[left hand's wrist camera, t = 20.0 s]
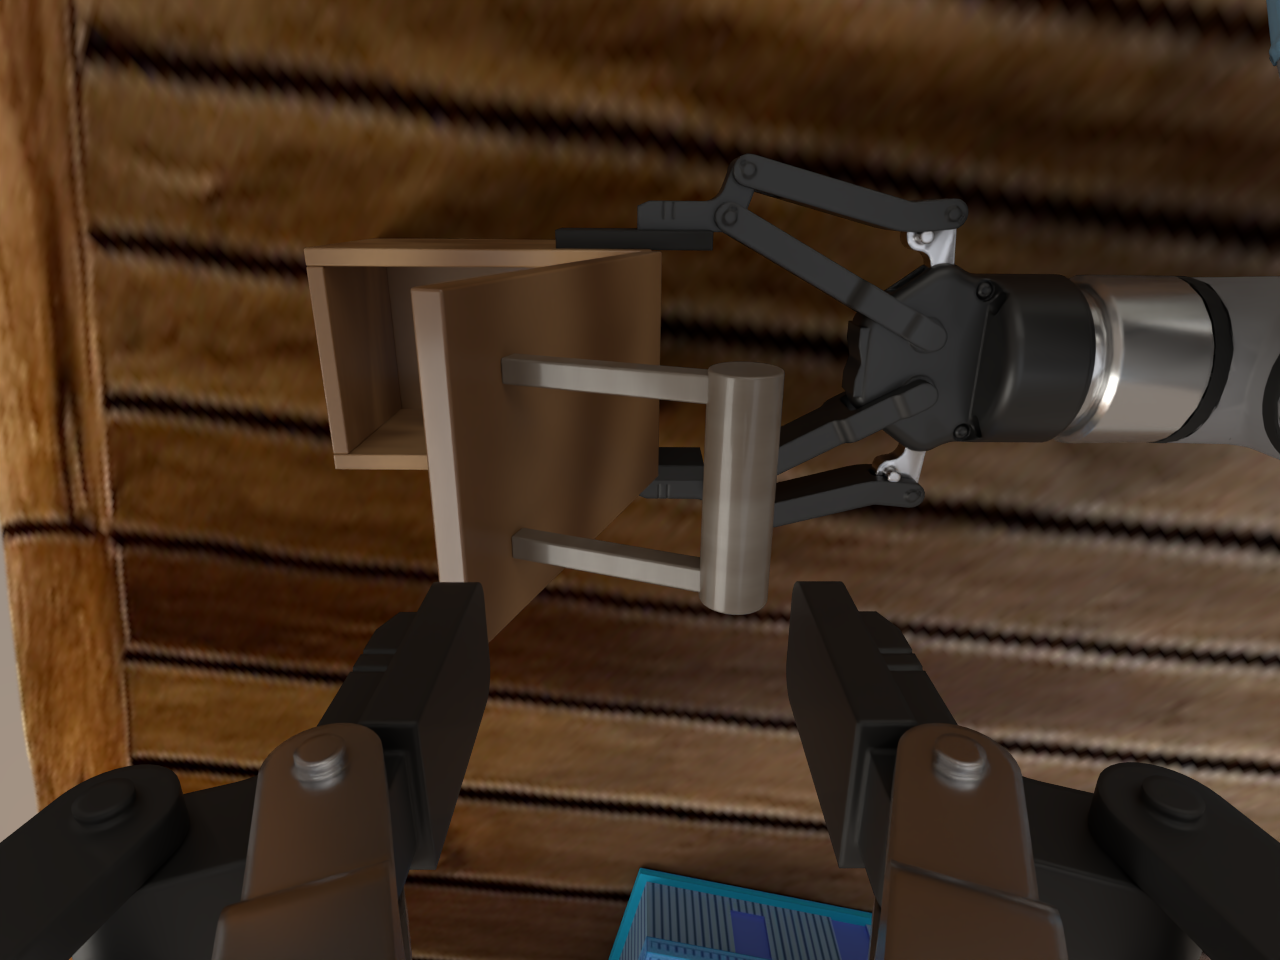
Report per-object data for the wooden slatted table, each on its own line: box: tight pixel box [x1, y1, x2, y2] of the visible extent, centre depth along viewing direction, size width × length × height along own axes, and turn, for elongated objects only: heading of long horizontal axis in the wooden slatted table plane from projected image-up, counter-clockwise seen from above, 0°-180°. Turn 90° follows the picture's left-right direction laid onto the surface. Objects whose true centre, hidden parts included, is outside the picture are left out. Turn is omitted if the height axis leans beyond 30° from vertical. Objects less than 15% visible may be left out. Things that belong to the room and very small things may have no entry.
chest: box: [304, 238, 652, 470], centre depth 36 cm, size 14×10×9 cm
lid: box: [411, 251, 785, 643], centre depth 23 cm, size 15×10×8 cm
